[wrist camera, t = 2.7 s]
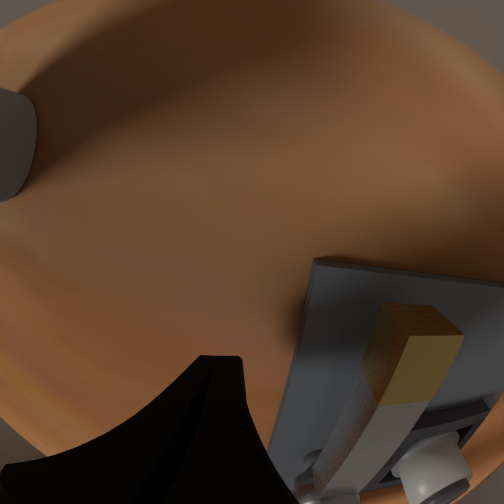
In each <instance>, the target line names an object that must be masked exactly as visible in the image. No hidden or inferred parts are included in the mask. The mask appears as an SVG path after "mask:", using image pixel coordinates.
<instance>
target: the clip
mask: <svg viewBox="0 0 504 504" xmlns="http://www.w3.org/2000/svg"><path fill="white" fill-rule="evenodd" d="M464 337H465V334H464V333H463V332H461V331H460V330H459V329H458V328H457V327H456V326H455V325H454V324H453V323H452V322H451V321H449V320H448V319H447V318H446V317H445V316H444V315H443V314H442V313H440V312H439V311H438V310H437V309H436V308H435V307H434V306H432V305H418V304H404V303H391V302H381V304H380V308H379V311H378V314H377V318H376V321H375V324H374V327H373V330H372V333H371V336H370V339H369V342H368V345H367V348H366V350H365V353H364V356H363V359H362V361H361V364H360V366H361V369H360V372H359V374H358V376H357V379H356V381H355V384H354V386H353V388H352V391H351V393H350V395H349V398H348V400H347V402H346V404H345V406H344V409H343V411H342V413H341V415H340V417H339V419H338V421H337V423H336V425H335V427H334V429H333V431H332V433H331V435H330V437H329V439H328V441H327V443H326V444H325V446H324V448H323V450H322V452H321V454H320V455H319V457H318V459H317V461H316V462H315V464H314V466H313V467H312V469H309V470H307V471H304V472H302V473H301V474H299V475H298V476H297V477H296V478H295V479H294V497H295V498H296V499H297V501H298V502H299V503H300V504H361V501H360V496H359V492H360V491H361V490H362V489H363V488H364V487H365V486H366V485H367V484H368V483H369V482H370V480H371V479H372V478H373V477H374V476H375V475H376V474H377V473H378V472H379V470H380V469H381V468H382V467H383V466H384V465H385V463H386V462H387V461H388V460H389V458H390V457H391V456H392V455H393V453H394V452H395V451H396V450H397V448H398V447H399V446H400V444H401V443H402V442H403V440H404V439H405V438H406V436H407V435H408V433H409V432H410V431H411V429H412V428H413V426H414V425H415V423H416V422H417V420H418V419H419V417H420V416H421V414H422V413H423V411H424V410H425V408H426V406H427V405H428V403H429V401H430V400H433V398H434V397H435V395H436V393H437V391H438V390H439V388H440V386H441V384H442V383H443V381H444V379H445V377H446V375H447V373H448V371H449V369H450V367H451V365H452V363H453V361H454V359H455V357H456V355H457V353H458V351H459V348H460V346H461V344H462V342H463V339H464Z"/></svg>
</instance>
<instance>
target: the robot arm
mask: <svg viewBox="0 0 504 504" xmlns="http://www.w3.org/2000/svg"><path fill="white" fill-rule="evenodd" d="M0 504H300V503H299V502H298V501H297V499H296V498H295V497H294V495H293V494H292V492H291V491H290V489H289V488H288V487H287V485H286V484H285V482H284V480H283V479H282V477H281V476H280V474H279V473H278V471H277V470H276V468H275V466H274V465H273V463H272V461H271V459H270V457H269V455H268V454H267V452H266V450H265V448H264V446H263V444H262V441H261V439H260V437H259V435H258V433H257V430H256V428H255V425H254V423H253V420H252V417H251V415H250V412H249V409H248V405H247V402H246V391H245V381H244V372H243V362H242V359H241V358H240V357H239V356H207V355H200V356H199V357H198V358H197V359H196V360H195V361H194V362H193V363H192V364H191V365H190V366H189V367H188V368H187V369H186V370H185V371H184V372H183V373H182V374H181V375H180V376H179V377H178V378H177V379H176V380H175V381H174V382H173V383H171V384H170V385H169V386H168V387H167V388H166V389H165V390H164V391H163V392H162V393H161V394H160V395H158V396H157V397H156V398H155V399H154V400H153V401H151V402H150V403H149V404H148V405H146V406H145V407H144V408H143V409H141V410H140V411H139V412H138V413H136V414H135V415H134V416H132V417H131V418H129V419H128V420H126V421H125V422H123V423H122V424H120V425H118V426H117V427H115V428H114V429H112V430H110V431H109V432H107V433H105V434H103V435H101V436H99V437H97V438H95V439H93V440H91V441H89V442H87V443H84V444H82V445H80V446H78V447H75V448H73V449H70V450H67V451H65V452H62V453H59V454H55V455H52V456H49V457H45V458H41V459H37V460H32V461H26V462H20V463H13V464H6V465H5V466H4V468H3V469H2V470H1V472H0Z"/></svg>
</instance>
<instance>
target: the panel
mask: <svg viewBox="0 0 504 504" xmlns="http://www.w3.org/2000/svg"><path fill="white" fill-rule="evenodd" d="M381 302H391V303H404V304H418V305H432V306H434V307H435V308H436V309H437V310H438V311H439V312H440V313H442V314H443V315H444V316H445V317H446V318H447V319H448V320H449V321H451V322H452V323H453V324H454V325H455V326H456V327H457V328H458V329H459V330H460V331H461V332H463V333H464V334H465V337H464V339H463V342H462V344H461V346H460V348H459V351H458V353H457V355H456V357H455V359H454V361H453V363H452V365H451V367H450V369H449V371H448V373H447V375H446V377H445V379H444V381H443V383H442V384H441V386H440V388H439V390H438V391H437V393H436V395H435V397H434V398H433V400H430V401H429V403H428V405H427V406H426V408H425V410H424V411H423V413H422V414H421V416H420V417H419V419H418V420H417V422H416V423H415V425H414V426H413V428H412V429H411V431H410V432H409V433H408V435H407V436H406V438H405V439H404V440H403V442H402V443H401V444H400V446H399V447H398V448H397V450H396V451H395V452H394V453H393V455H392V456H391V457H390V458H389V460H388V461H387V462H386V463H385V465H384V466H383V467H382V468H381V469H380V470H379V472H378V473H377V474H376V475H375V476H374V477H373V478H372V479H371V480H370V482H369V483H368V484H367V485H366V486H365V487H364V488H363V489H362V490H361V491H360V492H363V491H369V490H375V489H380V488H385V487H390V486H395V485H399V484H402V481H401V478H397V477H394V476H393V475H392V471H391V469H392V468H393V467H394V466H395V464H396V463H397V462H398V461H399V460H400V459H401V457H402V456H403V455H404V454H405V452H406V451H407V450H408V449H409V447H410V446H411V445H412V444H413V442H414V441H415V440H419V439H423V438H428V437H432V436H436V435H440V434H444V433H448V432H451V431H455V430H456V431H457V432H458V434H459V437H460V438H459V441H458V443H457V446H458V447H459V449H460V450H461V448H462V447H463V446H464V445H465V444H466V443H467V441H468V440H469V439H470V438H471V436H472V435H473V434H474V433H475V431H476V430H477V429H478V427H479V426H480V425H481V423H482V422H483V421H484V419H485V418H486V416H487V415H488V414H489V412H490V411H491V409H492V408H493V406H494V405H495V403H496V402H497V400H498V399H499V397H500V395H501V394H502V392H503V391H504V283H496V282H489V281H481V280H473V279H466V278H458V277H451V276H443V275H435V274H428V273H420V272H412V271H405V270H397V269H389V268H381V267H374V266H366V265H358V264H351V263H343V262H335V261H327V260H320V259H313V264H312V270H311V275H310V280H309V286H308V291H307V296H306V301H305V305H304V310H303V315H302V320H301V324H300V329H299V333H298V338H297V342H296V346H295V351H294V355H293V359H292V363H291V367H290V371H289V375H288V379H287V383H286V387H285V390H284V394H283V398H282V402H281V405H280V409H279V412H278V416H277V419H276V423H275V426H274V430H273V433H272V436H271V440H270V443H269V446H268V449H267V454H268V455H269V457H270V459H271V461H272V463H273V465H274V466H275V468H276V470H277V471H278V473H279V474H280V476H281V477H282V479H283V480H284V482H285V484H286V485H287V487H288V488H289V489H290V491H294V479H295V478H296V477H297V476H298V475H299V474H301V473H302V472H304V471H307V470H309V469H312V467H313V466H314V464H315V462H316V461H317V459H318V457H319V455H320V454H321V452H322V450H323V448H324V446H325V444H326V443H327V441H328V439H329V437H330V435H331V433H332V431H333V429H334V427H335V425H336V423H337V421H338V419H339V417H340V415H341V413H342V411H343V409H344V406H345V404H346V402H347V400H348V398H349V395H350V393H351V391H352V388H353V386H354V384H355V381H356V379H357V376H358V374H359V372H360V369H361V366H360V364H361V361H362V359H363V356H364V353H365V350H366V348H367V345H368V342H369V339H370V336H371V333H372V330H373V327H374V324H375V321H376V318H377V314H378V311H379V308H380V304H381Z"/></svg>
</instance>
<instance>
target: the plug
mask: <svg viewBox="0 0 504 504" xmlns="http://www.w3.org/2000/svg"><path fill="white" fill-rule="evenodd" d="M459 438H460V437H459V434H458V432H457V431H456V430H455V431H451V432H448V433H444V434H440V435H436V436H432V437H428V438H423V439H419V440H415V441H414V442H413V444H412V445H411V446H410V447H409V449H408V450H407V451H406V452H405V454H404V455H403V456H402V457H401V459H400V460H399V461H398V462H397V463H396V464H395V466H394V467H393V468H392V469H391V471H392V475H393V476H394V477H397V478H401V481H402V484H403V487H404V490H405V494H406V497H407V500H408V503H409V504H449V503H451V502H452V501H454V500H455V499H457V498H458V497H460V496H461V495H462V494H463V493H465V492H466V491H467V490H468V489H469V487H470V484H469V480H470V479H471V478H472V476H473V474H472V472H471V470H470V468H469V466H468V464H467V462H466V460H465V459H464V457H463V455H462V453H461V451H460V449H459V447H458V446H457V443H458V441H459Z"/></svg>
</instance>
